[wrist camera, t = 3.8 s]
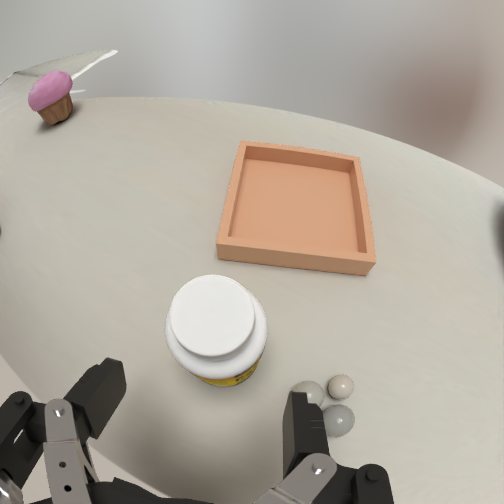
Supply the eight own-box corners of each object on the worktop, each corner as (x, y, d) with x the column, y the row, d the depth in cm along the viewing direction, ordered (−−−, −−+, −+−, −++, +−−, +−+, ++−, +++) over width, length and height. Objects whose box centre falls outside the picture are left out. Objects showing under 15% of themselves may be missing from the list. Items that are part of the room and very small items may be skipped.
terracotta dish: (218, 258, 26) (216, 243, 23) (240, 157, 32) (240, 140, 30) (365, 275, 25) (376, 262, 23) (353, 173, 32) (359, 157, 30)
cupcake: (83, 100, 42) (70, 58, 33) (79, 120, 38) (62, 73, 29) (45, 117, 40) (29, 78, 31) (37, 140, 36) (17, 96, 27)
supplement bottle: (241, 398, 20) (241, 396, 11) (177, 367, 21) (130, 337, 12) (270, 336, 22) (291, 285, 13) (208, 308, 23) (188, 242, 14)
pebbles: (285, 434, 18) (290, 438, 16) (291, 373, 21) (297, 369, 18) (346, 435, 18) (358, 437, 16) (350, 376, 20) (362, 372, 18)
